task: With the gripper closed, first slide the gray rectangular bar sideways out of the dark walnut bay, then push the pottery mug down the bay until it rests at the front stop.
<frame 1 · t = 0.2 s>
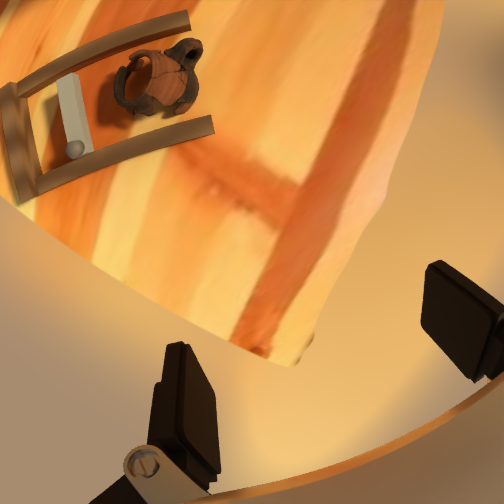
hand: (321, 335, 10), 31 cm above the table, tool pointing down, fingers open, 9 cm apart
gray rectangular bar: (71, 115, 27), point 5 cm above the table, slide at 0.0 cm
pottery mug: (167, 81, 32), on the table
bay: (103, 101, 31), on the table
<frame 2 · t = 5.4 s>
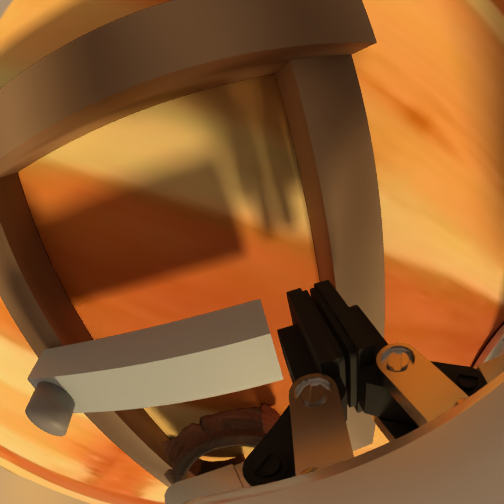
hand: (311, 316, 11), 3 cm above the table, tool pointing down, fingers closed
gray rectangular bar: (137, 383, 10), point 5 cm above the table, slide at 1.2 cm, touching gripper
pottery mug: (234, 433, 19), on the table
bay: (211, 349, 15), on the table
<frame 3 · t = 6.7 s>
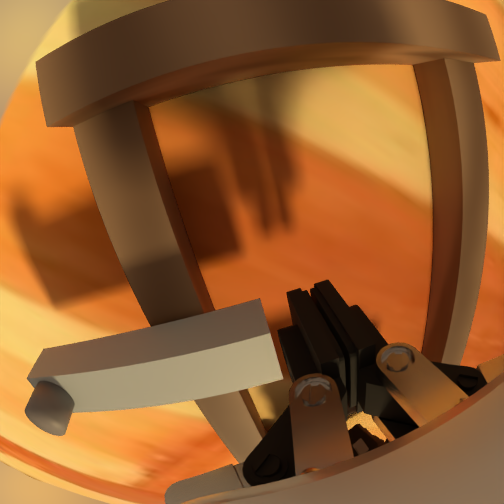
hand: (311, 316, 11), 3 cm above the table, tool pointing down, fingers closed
gray rectangular bar: (136, 382, 10), point 5 cm above the table, slide at 8.7 cm, touching gripper
pottery mug: (328, 408, 20), on the table
bay: (341, 311, 16), on the table
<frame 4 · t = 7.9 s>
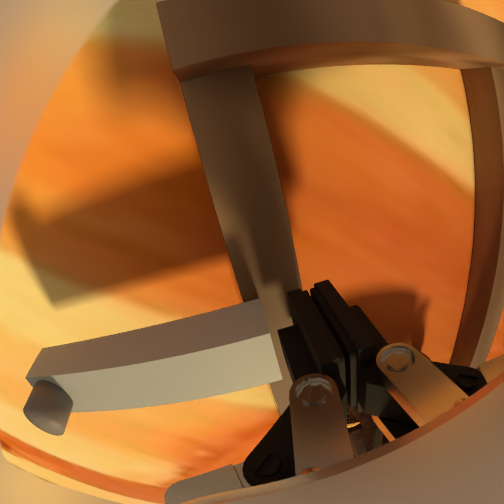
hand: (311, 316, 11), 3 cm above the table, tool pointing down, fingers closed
gray rectangular bar: (135, 382, 10), point 5 cm above the table, slide at 12.8 cm, touching gripper
pottery mug: (374, 391, 20), on the table
bay: (401, 289, 16), on the table
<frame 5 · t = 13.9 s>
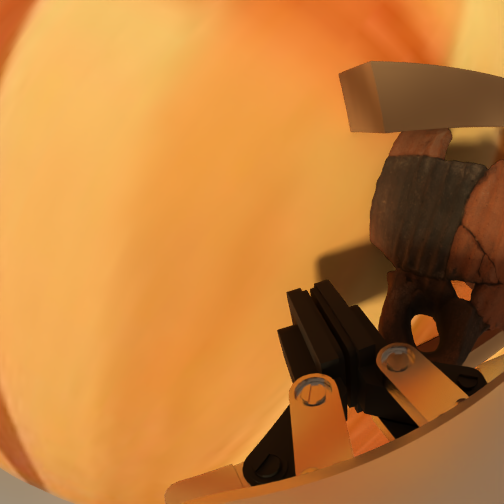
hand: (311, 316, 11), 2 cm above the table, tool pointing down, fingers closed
pottery mug: (429, 226, 13), on the table
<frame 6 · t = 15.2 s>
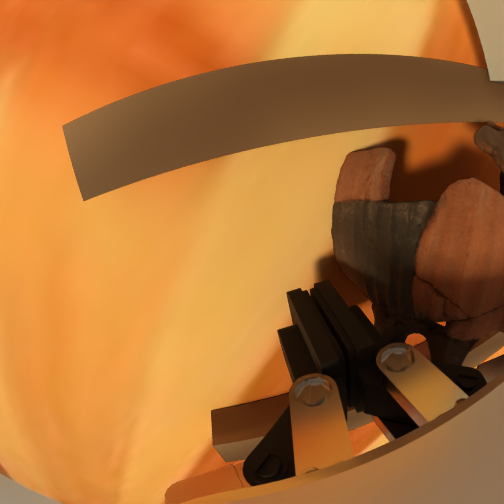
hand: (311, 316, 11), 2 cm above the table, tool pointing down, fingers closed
pottery mug: (410, 232, 12), on the table, touching gripper
bay: (434, 250, 13), on the table
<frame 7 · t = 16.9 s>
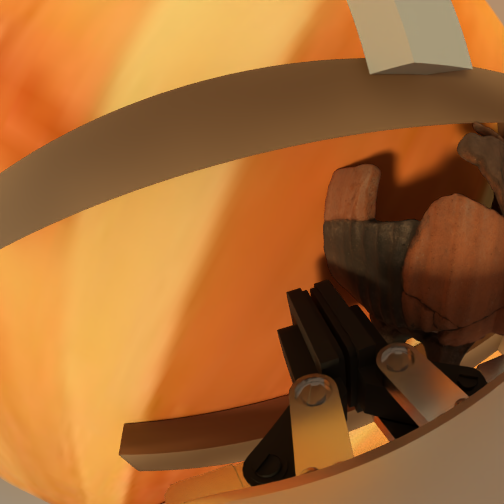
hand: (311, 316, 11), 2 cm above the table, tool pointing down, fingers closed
pottery mug: (404, 238, 13), on the table
bay: (326, 288, 13), on the table
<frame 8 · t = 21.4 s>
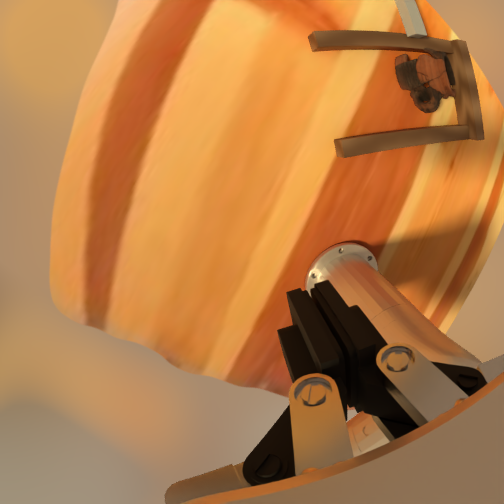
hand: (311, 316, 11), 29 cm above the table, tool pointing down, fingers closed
gray rectangular bar: (409, 3, 25), point 5 cm above the table, slide at 12.8 cm
pottery mug: (415, 81, 34), on the table
bay: (401, 88, 35), on the table
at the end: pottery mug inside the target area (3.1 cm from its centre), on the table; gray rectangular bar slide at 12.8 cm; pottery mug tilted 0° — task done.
